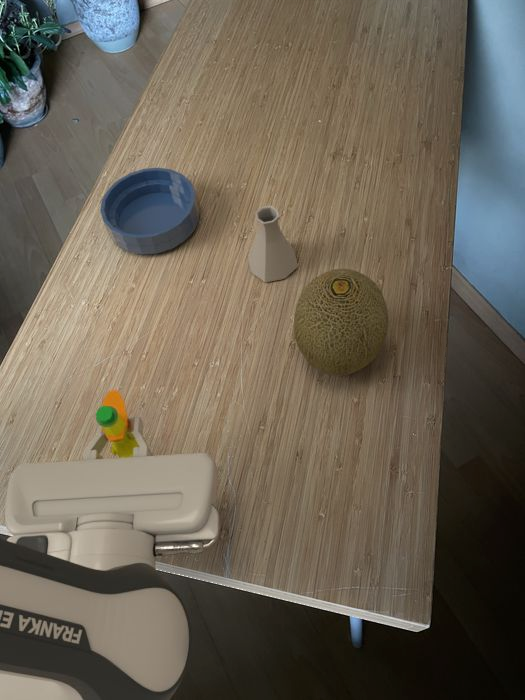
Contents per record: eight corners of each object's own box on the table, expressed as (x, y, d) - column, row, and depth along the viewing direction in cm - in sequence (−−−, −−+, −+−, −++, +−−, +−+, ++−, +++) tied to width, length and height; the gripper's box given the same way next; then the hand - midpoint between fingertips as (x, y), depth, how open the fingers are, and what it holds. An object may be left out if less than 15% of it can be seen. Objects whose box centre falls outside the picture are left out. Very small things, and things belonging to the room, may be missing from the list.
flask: (239, 256, 87) (230, 207, 78) (283, 236, 88) (278, 186, 79) (262, 290, 83) (255, 243, 75) (306, 269, 84) (305, 220, 76)
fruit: (299, 315, 80) (295, 242, 68) (383, 319, 79) (395, 245, 66) (292, 390, 75) (286, 325, 62) (382, 395, 73) (395, 330, 60)
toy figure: (119, 426, 68) (84, 377, 58) (149, 420, 68) (120, 370, 58) (122, 481, 65) (86, 440, 55) (154, 475, 65) (124, 432, 55)
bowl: (105, 261, 89) (95, 241, 85) (114, 193, 96) (106, 172, 92) (199, 253, 88) (193, 233, 84) (201, 185, 95) (196, 163, 91)
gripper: (214, 544, 51) (215, 400, 58) (-16, 556, 52) (13, 413, 59) (224, 559, 56) (224, 426, 64) (15, 570, 58) (39, 438, 65)
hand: (121, 420), depth 61 cm, fingers closed on toy figure
